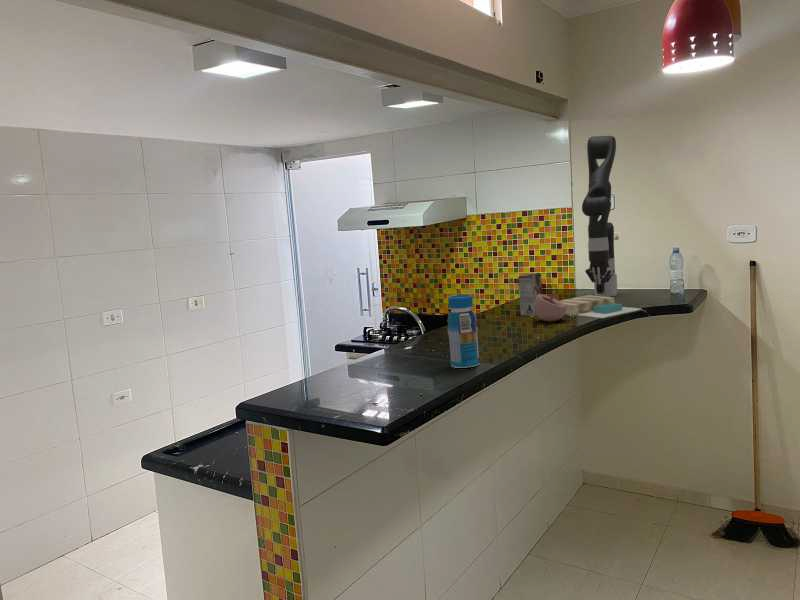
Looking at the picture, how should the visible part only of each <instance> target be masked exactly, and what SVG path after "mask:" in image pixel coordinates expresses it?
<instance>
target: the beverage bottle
mask: <svg viewBox="0 0 800 600" xmlns="http://www.w3.org/2000/svg"><path fill="white" fill-rule="evenodd" d="M447 300H448V308H449V309H450V312H449V313H448V317H447V321H446V323H447V324H448V327H447V334H448V340H449V341H448V342H449V344H448V345H449V353H450V367H451V366H452V367H451V368H453V367H454V368H453V369H455V368H467V367H474V366H477V365H479V366H480V363H481V362H480V355H479V341H478V331H479V328H478V326H477V324H476V323H477V316H476V313H475V312H474V310H472V308H473V307H474V306H473V305H474V302H473V301H474V300H473V296H472V294H455V295H451V296H448V299H447ZM477 367H478V366H477Z"/></svg>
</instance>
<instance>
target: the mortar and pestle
mask: <svg viewBox="0 0 800 600" xmlns="http://www.w3.org/2000/svg"><path fill="white" fill-rule="evenodd" d="M555 296H556V291H555V290H552V292H551V295H550V296H549V295H546V294H543V293H542V294H538V295H537V297H536V298H535V301H534V310H535V313H536V315H535V316H537V317H538V318H539V319H540V320H542V321H544V322H547V323H548V322H550V323H551V322H557V321H558V320H560V319H562V317H563V316H564V315H566V314H565V312H566V309H567V305H566V304H564V303H562V302H560V301H561V300H558V299H556V298H555Z"/></svg>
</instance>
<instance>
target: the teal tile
mask: <svg viewBox="0 0 800 600" xmlns="http://www.w3.org/2000/svg"><path fill="white" fill-rule="evenodd" d="M622 307H623V304H622V303H607V304H602V305H597V306H593V308H594V313H602V314H608V313H612V312H617V311H622Z"/></svg>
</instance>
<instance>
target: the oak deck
mask: <svg viewBox="0 0 800 600" xmlns="http://www.w3.org/2000/svg"><path fill="white" fill-rule="evenodd" d="M559 301H560V302H562V303H564V304H566V305H567V309H566V312H565V314H564V315H567V316H568V315H569V316H578V314H583V313H588V312H592V311H594V308H593V306H597V305H602V304H607V303H615V296H612V297H603V296H595V295H590V294H589V295H581V296H577V297H572V298H565V299H561V300H559Z"/></svg>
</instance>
